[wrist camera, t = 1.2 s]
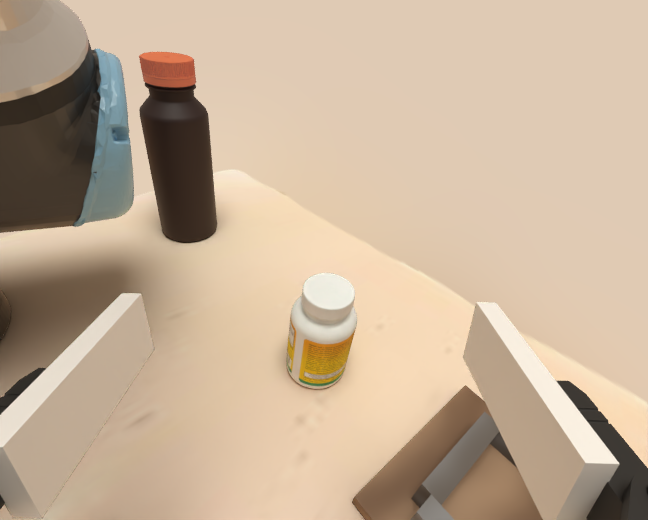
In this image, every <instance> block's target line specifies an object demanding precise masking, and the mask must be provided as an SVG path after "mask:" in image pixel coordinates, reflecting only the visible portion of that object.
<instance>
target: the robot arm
mask: <svg viewBox="0 0 648 520" xmlns="http://www.w3.org/2000/svg"><path fill="white" fill-rule="evenodd" d="M133 199H134V185H133V168H132V157H131V146H130V138H129V128H128V113H127V103H126V94H125V87H124V78H123V72H122V66H121V63H120V60H119V59H118V58H117V57H116V56H115V55H113V54H111V53H107V52H104V51H102V50H100V49H95V50H91V47H90V44H89V40H88V37H87V33H86V30H85V28H84V26H83V24H82V22H81V21H80V19H79V17H78V16H77V15H76V14H75V13H74V12H73V11H72V10H71V9H70V8H69V7H68V6H66V5H65V4H64V3H62V2H61V1H60V0H0V233H2V232H13V231H23V230H34V229H45V228H55V227H66V226H74V227H76V226H81V225H83V224H84V223H88V222H94V221H100V220H106V219H112V218H117V217H120V216H122V215H124V214H125V213H126V212H128V210H129V209H130V208H131V206H132V204H133ZM10 317H11V308H10V304H9V302H8V300H7V298H6V297H5V295H4V293H3V292H2V290H1V289H0V340H1V338H2V337H3V335H4V333H5V332H6V330H7V327H8V325H9V322H10ZM153 351H154V345H153V340H152V336H151V332H150V328H149V323H148V319H147V315H146V311H145V306H144V302H143V298H142V294H141V293H121V294H120V295H119V296H118V297H117V298H116V299H115V300H114V301H113V302H112V303H111V304H110V305H109V306H108V307H107V308H106V309H105V310H104V311H103V312H102V313H101V314H100V315H99V317H98V318H97V319H96V320H95V321H94V322H93V323H92V324H91V325H90V326H89V327H88V328H87V329H86V330H85V331H84V332H83V333H82V334H81V335H80V336H79V337H78V338H77V339H76V340H75V341H74V342H73V343H72V344H71V345H70V346H69V347H68V348H67V349H66V350H65V351H64V352H63V353H62V354H61V355H60V356H59V357H58V358H57V359H56V360H55V361H54V362H53V363H52V364H51V365H50V366H49V367H48V368H38V369H36V370H35V371H33V372H32V373H30V374H28V375H27V376H25V377H24V378H22V379H20V380H19V381H18V382H17V383H16V384H15V385H14V386H13V387H12V388H11V389H10V390H8V391H7V392H6V393H5V396H4V397H1V398H0V509H1V508H2V506H3V505H4V504H5V506H6V508H7V509H8V511H9V512H10V514H11V516H12V517H13V518H43V516H44V515H45V513H46V512H47V510H48V509H49V507H50V506H51V504H52V503H53V501H54V500H55V498H56V497H57V495H58V494H59V492H60V491H61V489H62V488H63V486H64V485H65V483H66V482H67V480H68V479H69V477H70V476H71V474H72V473H73V471H74V470H75V468H76V467H77V465H78V464H79V462H80V461H81V459H82V458H83V456H84V455H85V453H86V452H87V450H88V449H89V447H90V446H91V444H92V443H93V441H94V440H95V438H96V437H97V435H98V433H99V432H100V430H101V429H102V427H103V426H104V424H105V423H106V421H107V420H108V418H109V417H110V415H111V414H112V412H113V411H114V409H115V408H116V406H117V405H118V403H119V402H120V400H121V399H122V397H123V396H124V394H125V393H126V391H127V390H128V388H129V387H130V385H131V384H132V382H133V381H134V379H135V378H136V376H137V375H138V373H139V372H140V370H141V369H142V367H143V366H144V364H145V363H146V361H147V360H148V358H149V357H150V355H151V354H152V352H153ZM463 358H464V360H465V362H466V364H467V366H468V368H469V370H470V372H471V374H472V377H473V379H474V381H475V383H476V385H477V387H478V389H479V391H480V393H481V395H482V397H483V399H484V401H485V403H486V405H487V407H488V409H489V411H490V413H491V415H492V417H493V419H494V421H495V423H496V425H497V427H498V429H499V432H500V434H501V436H502V438H503V440H504V442H505V444H506V446H507V448H508V450H509V452H510V454H511V456H512V458H513V460H514V462H515V464H516V466H517V468H518V470H519V472H520V474H521V476H522V478H523V480H524V482H525V484H526V487H527V489H528V491H529V493H530V495H531V497H532V499H533V501H534V503H535V505H536V507H537V509H538V511H539V513H540V515H541V517H542V519H543V520H648V468H647V467H646V466H645V465H644V463H643V462H642V461H641V460H640V459H639V457H638V456H637V455H636V454H635V453H634V451H633V450H632V449H631V448H630V447H629V445H628V444H627V443H626V442H625V440H624V439H623V438H622V437H621V436H620V434H619V433H618V432H617V431H616V430H615V428H614V427H613V426H612V425H611V424H609V423H608V420H607V419H606V418H605V416H604V415H603V414H602V413H601V412H599V411H598V408H597V407H596V406H595V404H594V403H593V402H592V401H591V400H590V398H589V397H588V396H587V395H586V394H585V393H584V392H583V391H581V390H580V389H579V388H577V387H576V386H575V385H573V384H572V383H571V382H569V381H556V380H555V379H554V378H553V376H552V375H551V374H550V372H549V371H548V370H547V368H546V367H545V366H544V365H543V363H542V362H541V361H540V359H539V358H538V357H537V355H536V354H535V353H534V351H533V350H532V349H531V348H530V346H529V345H528V344H527V342H526V341H525V340H524V338H523V337H522V336H521V334H520V333H519V332H518V331H517V329H516V328H515V327H514V325H513V324H512V323H511V322H510V320H509V319H508V318H507V316H506V315H505V314H504V312H503V311H502V310H501V308H500V307H499V306H498V304H497V303H490V302H477V303H476V306H475V310H474V314H473V318H472V322H471V326H470V331H469V335H468V339H467V343H466V347H465V351H464V355H463Z"/></svg>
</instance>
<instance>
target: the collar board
mask: <svg viewBox="0 0 648 520" xmlns="http://www.w3.org/2000/svg"><path fill="white" fill-rule="evenodd" d="M352 503H353V504H354V505H355V507H356V508H357V509H358V511H359V512H360V513H361V514H362V516H363V517H364V518H365V520H543V519H542V517H541V515H540V513H539V511H538V509H537V507H536V505H535V503H534V501H533V499H532V497H531V495H530V493H529V491H528V489H527V487H526V484H525V482H524V480H523V478H522V476H521V474H520V472H519V470H518V468H517V466H516V464H515V462H514V460H513V458H512V456H511V454H510V452H509V450H508V448H507V446H506V444H505V442H504V440H503V438H502V436H501V434H500V432H499V429H498V427H497V425H496V423H495V421H494V419H493V417H492V415H491V413H490V411H489V409H488V407H487V405H486V403H485V401H483V400H482V399H481V398H480V397H479V396H477V395H476V394H475V393H474V392H473V391H471V390H470V389H469V388H468V387H467V386H466V385H465V386H464V387H463V388H462V389H461V390H460V391H459V392H458V393H457V394H456V395H455V396H454V397H453V398H452V399H451V400H450V401H449V402H448V403H447V404H446V405H445V406H444V407H443V408H442V409H441V410H440V411H439V412H438V413H437V414H436V415H435V416H434V417H433V418H432V419H431V420H430V421H429V422H428V423H427V424H426V425H425V426H424V427H423V428H422V429H421V430H420V431H419V432H418V433H417V434H416V435H415V436H414V437H413V438H412V439H411V440H410V442H409V443H408V444H407V445H406V446H405V447H404V448H403V449H402V450H401V451H400V452H399V453H398V454H397V455H396V456H395V457H394V458H393V459H392V460H391V461H390V462H389V463H388V464H387V465H386V466H385V467H384V468H383V469H382V470H381V471H380V472H379V473H378V474H377V475H376V476H375V477H374V478H373V479H372V480H371V481H370V482H369V483H368V484H367V485H366V486H365V487H364V488H363V489H362V490H361V491H360V492H359V493H358V494H357V495H356V496H355V497H354V499H353V501H352Z"/></svg>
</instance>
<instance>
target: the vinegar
mask: <svg viewBox="0 0 648 520" xmlns="http://www.w3.org/2000/svg"><path fill="white" fill-rule="evenodd" d="M139 58H140V63H141V69H142V73H143V79H144V81H145V86H146V87H147V88H149V93H150V96H149V97H148V98H147V99H146V101H145V102H144V103H143V105H142V106H141V107H140V118H141V123H142V128H143V134H144V138H145V144H146V148H147V154H148V159H149V164H150V170H151V174H152V180H153V185H154V190H155V195H156V200H157V206H158V211H159V216H160V221H161V226H162V231H163V233H164V234H165V235H166V236H167V237H169V238H171V239H172V240H176V241H180V242H194V241H199V240H202V239H205V238H207V237H208V236H210V235H212V234H213V232H214V231H215V230H216V226H217V220H216V207H215V195H214V182H213V170H212V158H211V145H210V132H209V121H208V113H207V111H206V109H205V107H204V106H203V105H202V104H201V103H200V102H199V101H198V100H197V99H196V98H195V97H194V91H193V90H194V89H195V88H196V86H195V83H196V78H195V68H194V59H193V58H192V57H190V56H187V55H183V54H177V53H170V52H149V53H143V54H141V55H140V56H139Z"/></svg>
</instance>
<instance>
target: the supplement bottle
mask: <svg viewBox="0 0 648 520" xmlns="http://www.w3.org/2000/svg"><path fill="white" fill-rule="evenodd" d="M354 298H355V290H354V288H353V286H352V284H351V283H350V282H349V281H348V280H347V279H345V278H344V277H342V276H339V275H336V274H332V273H320V274H316V275H313V276H311V277H310V278H308V279H307V280H306V281H305V283H304V285H303V290H302V296H300V297H299V298H298V299H297V300H296V302H295V303H294V305H293V307H292V311H291V317H290V328H289V337H288V347H287V359H286V363H287V369H288V372H289V373H290V375H291V377H292V378H293V379H294V380H295V381H296V382H297V383H299V384H300V385H302V386H305V387H308V388H313V389H323V388H327V387H330V386H332V385H333V384H335V383H336V382H337V381H338V380H339V379H340V378H341V376H342V374H343V372H344V369H345V365H346V362H347V358H348V354H349V351H350V347H351V343H352V340H353V336H354V332H355V329H356V324H357V314H356V311H355V308H354V306H353V304H354Z"/></svg>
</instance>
